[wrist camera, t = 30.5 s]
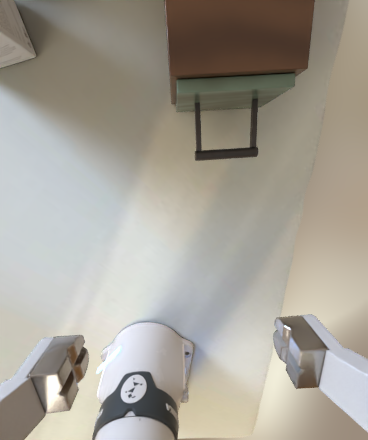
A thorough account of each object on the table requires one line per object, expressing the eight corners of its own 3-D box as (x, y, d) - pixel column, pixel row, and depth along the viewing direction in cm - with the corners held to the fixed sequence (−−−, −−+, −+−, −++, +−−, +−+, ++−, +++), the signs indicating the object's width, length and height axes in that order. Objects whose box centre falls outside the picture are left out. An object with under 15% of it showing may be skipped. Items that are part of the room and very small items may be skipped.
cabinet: (262, 99, 28) (307, 68, 19) (171, 104, 28) (170, 75, 18) (269, -37, 24) (332, -168, 14) (161, -33, 24) (153, -164, 14)
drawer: (258, 156, 30) (288, 155, 22) (179, 161, 29) (181, 162, 22) (266, -18, 24) (312, -107, 16) (168, -14, 24) (165, -102, 16)
